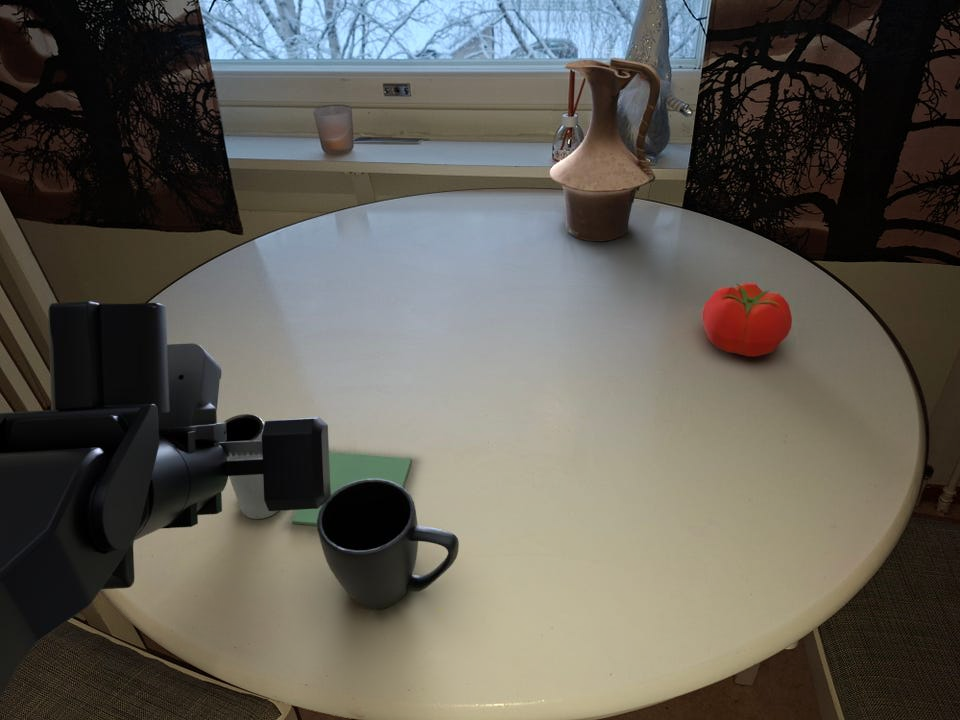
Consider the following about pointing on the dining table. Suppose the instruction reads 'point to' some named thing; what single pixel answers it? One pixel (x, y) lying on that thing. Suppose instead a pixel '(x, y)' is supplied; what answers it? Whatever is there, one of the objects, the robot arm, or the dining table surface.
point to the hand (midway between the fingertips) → (233, 456)
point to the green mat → (357, 475)
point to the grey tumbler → (248, 486)
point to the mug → (377, 542)
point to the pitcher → (606, 155)
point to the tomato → (746, 319)
